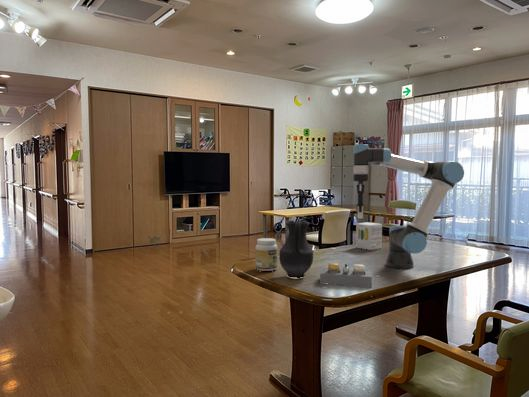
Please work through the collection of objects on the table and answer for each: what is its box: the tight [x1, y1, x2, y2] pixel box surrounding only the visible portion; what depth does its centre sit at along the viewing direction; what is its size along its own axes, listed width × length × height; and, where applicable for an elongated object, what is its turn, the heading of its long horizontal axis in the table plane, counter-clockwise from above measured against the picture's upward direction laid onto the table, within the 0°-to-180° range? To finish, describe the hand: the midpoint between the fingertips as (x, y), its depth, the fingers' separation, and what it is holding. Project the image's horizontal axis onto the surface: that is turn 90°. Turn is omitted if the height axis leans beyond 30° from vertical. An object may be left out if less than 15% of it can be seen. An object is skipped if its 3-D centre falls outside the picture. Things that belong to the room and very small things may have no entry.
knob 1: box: [327, 262, 340, 273], centre depth 194 cm, size 5×5×8 cm
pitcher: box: [278, 220, 314, 278], centre depth 200 cm, size 17×21×30 cm
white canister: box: [355, 221, 383, 251], centre depth 281 cm, size 13×13×18 cm
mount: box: [319, 267, 373, 288], centre depth 193 cm, size 24×12×5 cm, turn 75°
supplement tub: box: [255, 237, 278, 270], centre depth 218 cm, size 12×12×17 cm
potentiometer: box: [342, 263, 350, 274], centre depth 190 cm, size 3×3×4 cm
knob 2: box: [352, 263, 366, 275], centre depth 191 cm, size 5×5×8 cm
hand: (360, 218), depth 210 cm, fingers closed
